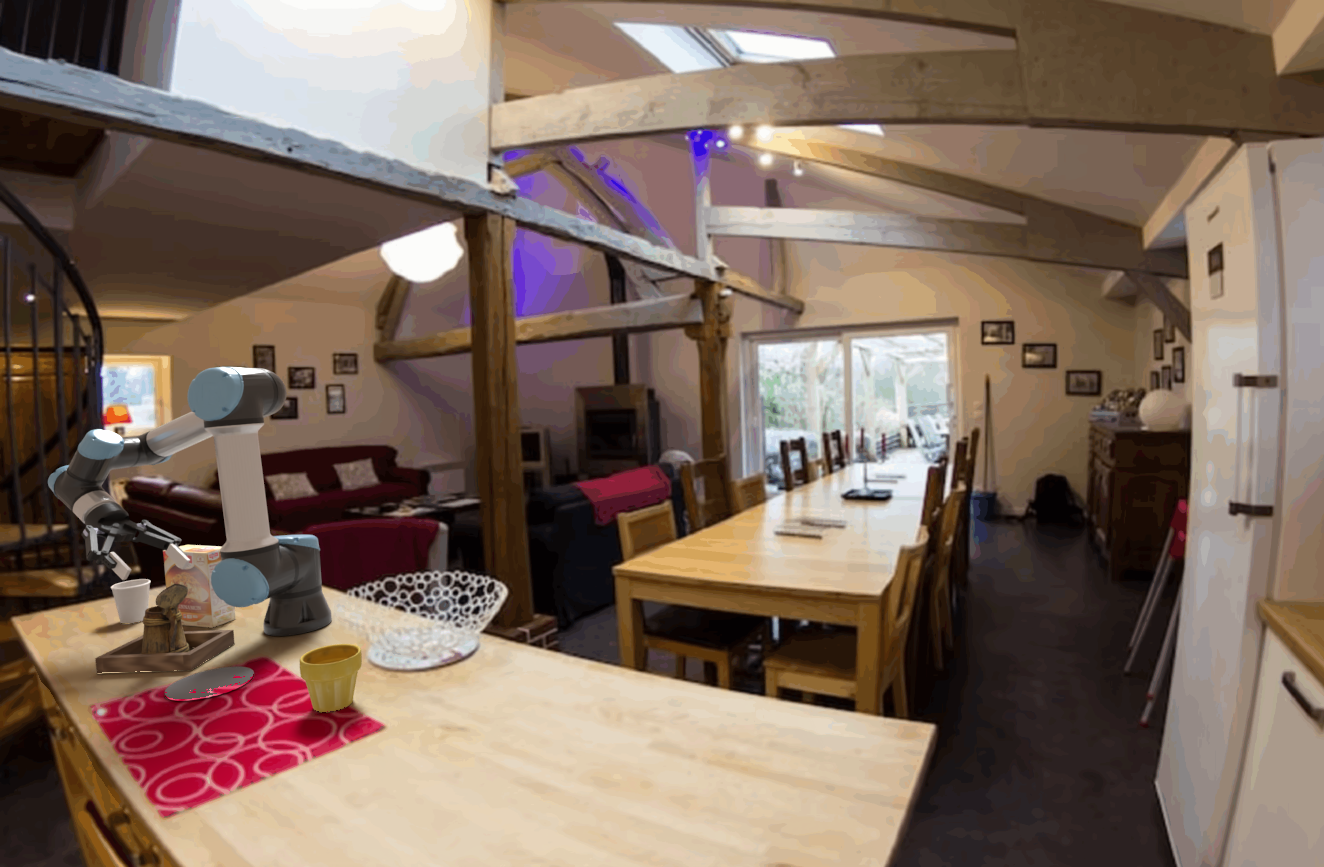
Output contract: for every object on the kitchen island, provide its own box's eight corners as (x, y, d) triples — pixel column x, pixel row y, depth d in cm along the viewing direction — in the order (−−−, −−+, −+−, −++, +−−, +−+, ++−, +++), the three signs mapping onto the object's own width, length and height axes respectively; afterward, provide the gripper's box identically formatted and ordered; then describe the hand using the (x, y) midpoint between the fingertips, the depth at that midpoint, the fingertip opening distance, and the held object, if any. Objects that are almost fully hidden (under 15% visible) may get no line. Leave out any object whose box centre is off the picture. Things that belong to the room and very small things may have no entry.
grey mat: (269, 667, 145) (268, 665, 145) (224, 700, 130) (224, 697, 130) (198, 670, 145) (198, 667, 145) (145, 703, 130) (145, 700, 130)
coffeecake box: (167, 624, 176) (161, 550, 175) (193, 615, 183) (187, 543, 181) (211, 628, 172) (205, 552, 170) (237, 619, 178) (231, 545, 177)
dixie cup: (122, 617, 183) (119, 581, 182) (159, 613, 185) (155, 577, 184) (107, 627, 175) (104, 589, 174) (146, 623, 177) (142, 585, 177)
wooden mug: (157, 672, 145) (150, 589, 144) (133, 659, 152) (126, 580, 151) (204, 657, 152) (198, 578, 151) (179, 646, 160) (173, 570, 159)
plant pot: (374, 692, 131) (371, 642, 131) (344, 718, 121) (341, 664, 120) (324, 691, 132) (320, 642, 132) (290, 717, 122) (286, 664, 122)
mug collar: (234, 644, 160) (233, 629, 160) (191, 670, 145) (189, 654, 145) (148, 647, 160) (147, 632, 159) (96, 674, 145) (95, 658, 144)
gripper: (148, 521, 172) (200, 573, 167) (33, 533, 148) (91, 593, 143) (161, 497, 171) (215, 548, 166) (48, 505, 147) (107, 565, 142)
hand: (158, 569), depth 155 cm, fingers open, 13 cm apart
